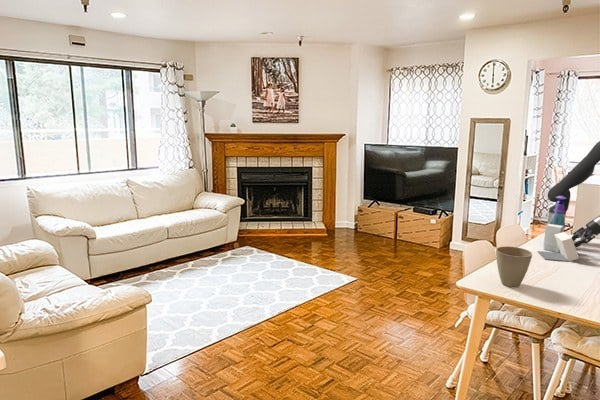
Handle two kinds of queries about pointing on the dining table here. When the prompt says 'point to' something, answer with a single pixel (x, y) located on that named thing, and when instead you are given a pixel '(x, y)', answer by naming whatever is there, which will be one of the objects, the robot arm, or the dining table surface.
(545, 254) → the mat
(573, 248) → the block
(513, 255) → the plant pot
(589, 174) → the robot arm
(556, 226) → the skincare box
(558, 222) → the lantern
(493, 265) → the dining table surface
